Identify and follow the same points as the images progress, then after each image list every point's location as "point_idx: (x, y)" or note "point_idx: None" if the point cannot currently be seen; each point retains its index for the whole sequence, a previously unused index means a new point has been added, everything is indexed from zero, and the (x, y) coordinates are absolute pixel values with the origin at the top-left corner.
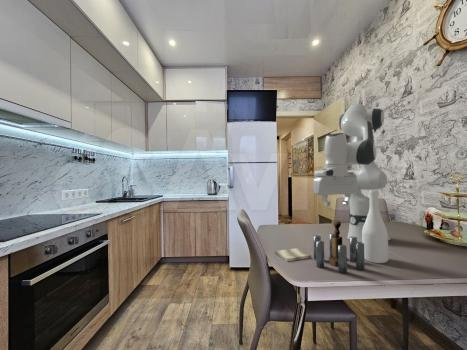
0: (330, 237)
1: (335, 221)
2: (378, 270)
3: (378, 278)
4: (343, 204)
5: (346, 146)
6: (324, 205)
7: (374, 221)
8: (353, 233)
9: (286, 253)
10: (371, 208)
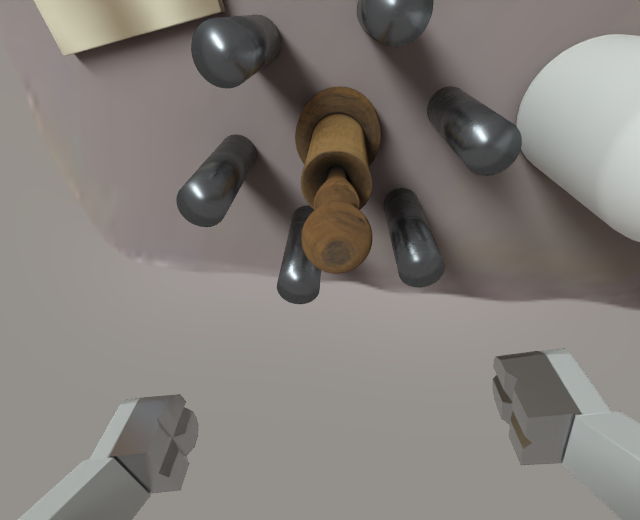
0: (365, 19)
1: (314, 262)
2: (461, 227)
3: (400, 280)
4: (496, 366)
5: None
6: (128, 402)
7: None
8: None
9: None
10: None
